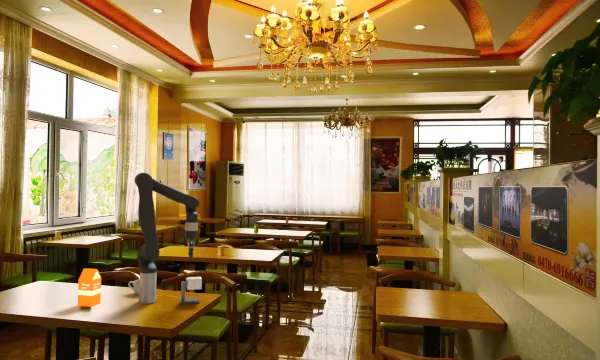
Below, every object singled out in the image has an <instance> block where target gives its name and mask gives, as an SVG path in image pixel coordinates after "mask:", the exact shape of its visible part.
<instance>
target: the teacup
mask: <svg viewBox="0 0 600 360" xmlns="http://www.w3.org/2000/svg"><path fill="white" fill-rule="evenodd" d="M131 284H132V285H133V287H132V286H131ZM127 286H128V287H129V289H131V290H132V291H133V292H134V293H136V295H139V286H140V278H139V279H135V280H134V281H133V280H132V281H131V280H130V281H129V282H128V285H127Z"/></svg>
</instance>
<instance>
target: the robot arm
mask: <svg viewBox="0 0 600 360" xmlns="http://www.w3.org/2000/svg"><path fill="white" fill-rule="evenodd" d="M134 185H136V186H137V191H138V197H139V198H138V209H137V210H138V211H137V213H138V214H137V215H138V223H139V227H140V230H141V232H142V234H143V236H144V237H143V238H144V244H143V245H141V247H140V248H139V251H138V267H139V279H140V286H139V294H138V304H143V305H144V304H146V305H147V304H154V303H155V302H157V280H158V279H157V273H158V272H157V271H158V268H157V266H156V264H155V261H157V259H159V256H160V246H159V240H158V235H157V233H158V232H157V221H156V219H157V217H156V212H155V211H156V210H155V203H154V197H153V193H154V192H155V193H157V194H159V195H161V196H163V197H165V198H167V199H168V200H171V201H173V202H176V203H177V204H178V203H179V204H182V205H184V206H185V207H184V208H185V226H184V238H186V239H188V240H187V249H188V253H187V254H188V257H189V259H191V258H193V257H194V250H195V242H196V241H195V240H194V239H196V238H198V236H199V235H198V234H199V232H198V231H199V224H198V220H199V216H198V215H199V214H198V212H197V208H198V207H199V206H200V200H199V199H198V197H196V196H193V195H191V194H187V193H185V192H184V191H182V190H180V189H177V188H175V187H173V186H170V185H167V184H165V183H162V182H160V181H158V180H156V179H154V178H153V177H152V175H151V174H150V173H149V172H148V173H147V172H139V173H138V174H136V176H135V178H134Z"/></svg>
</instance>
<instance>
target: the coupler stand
mask: <svg viewBox="0 0 600 360" xmlns="http://www.w3.org/2000/svg"><path fill="white" fill-rule="evenodd" d="M180 286H181V288H180V289H181V290H180V304H182V305H195V304H196V305H197V304H200V299H199V297H197V296H196V297H186V287H187V282H186V280H185V281H181V285H180Z"/></svg>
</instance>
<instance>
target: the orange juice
mask: <svg viewBox="0 0 600 360" xmlns="http://www.w3.org/2000/svg"><path fill="white" fill-rule="evenodd" d="M77 283H78V285H77V286H78V287H77V288H78V289H77V306H78V307H79V306H80V307H90V308H91V307H96V306H98V305H100V304H101V296H102V295H101V293H102V275H101V274H100V272H99V270H98V269H97V268H83V270H82V272H81V274H80V276H79V278H78V282H77Z"/></svg>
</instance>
